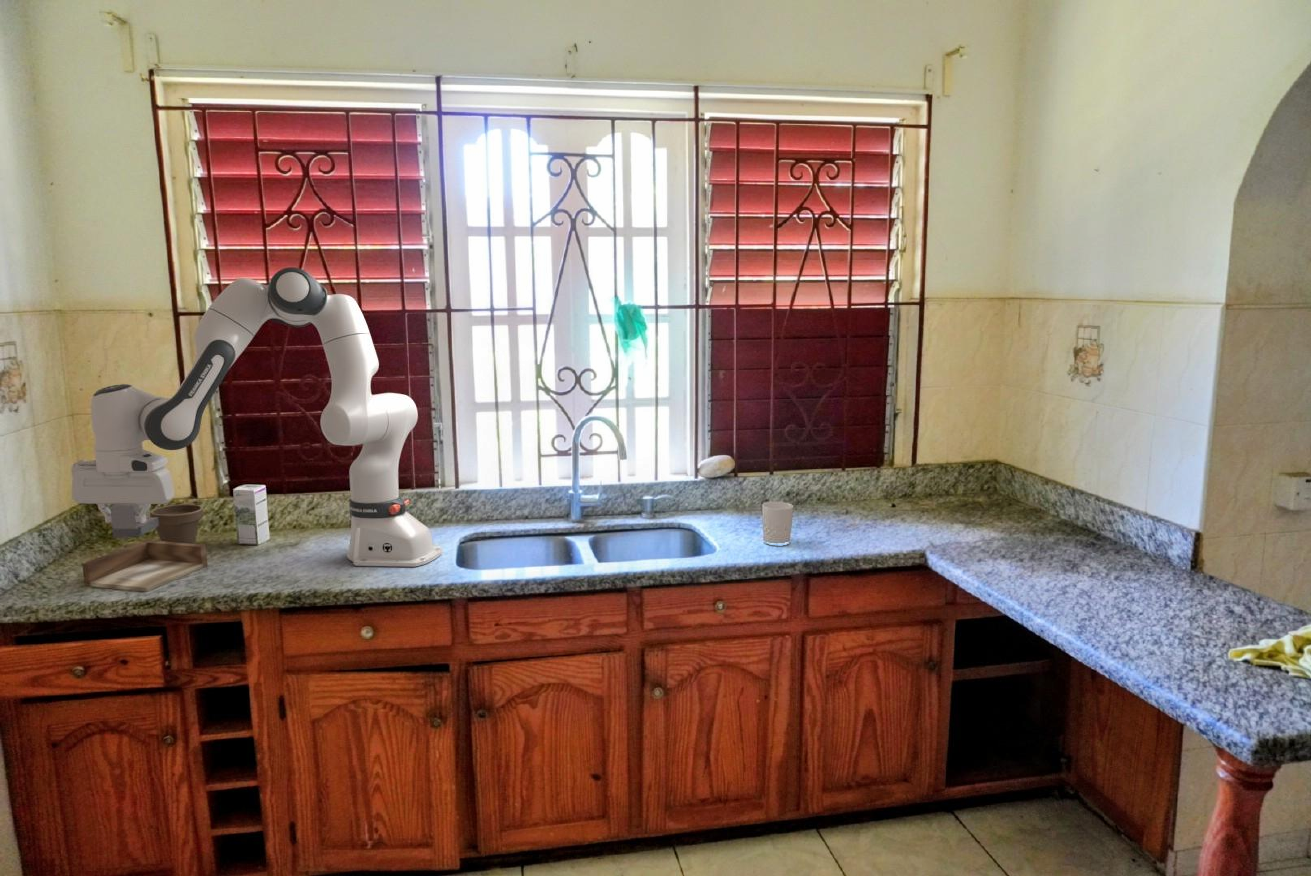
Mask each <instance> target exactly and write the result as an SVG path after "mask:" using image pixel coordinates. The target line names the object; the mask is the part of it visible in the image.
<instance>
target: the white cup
mask: <svg viewBox="0 0 1311 876" xmlns="http://www.w3.org/2000/svg"><path fill="white" fill-rule="evenodd" d="M761 507H762V509H761V511H762V516H761V517H762V518H761V519H762V533H763V534H762V537H763V538H762V541H763V540H764V541H765V542H769V543H785V542H789V541H790V542H791V534H792V528H793V527H792V526H793V515H794V513H793V512H794V505H793V504H791V503H789V502H786V501H767V502H763V503H762V505H761Z"/></svg>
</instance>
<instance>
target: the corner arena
mask: <svg viewBox="0 0 1311 876" xmlns="http://www.w3.org/2000/svg"><path fill="white" fill-rule="evenodd" d="M81 566H82V574H83V576H82V577H83V584H84V585H83V586H84V587H92V588H93V587H94V588H104V589H113V590H115V589H116V590H126V591H136V592H146V593H148V592H150V591H152V590H155V589H157V588H159V587H162V586H164V585H166V584H168V583H171V582H173V581H175V580H177V579H180V578H182V577H185V576H187V575H190V574H191V573H193V572H196V571H198V570H201V569H203V568H205V567H208V556H207V546H206V544H199V543H195V544H188V543H176V542H164V541H161V540H152V539H151V540H149V539H147V540H144V541H141V542H138V543H136V544H133V545H130V546H127V547H125V548H122V549H118V550H117V551H113V552H111V553H107V554H105V555H102V556H99V557H97V558H94V559H91V560H88V561H85V562H83V563H82V565H81Z"/></svg>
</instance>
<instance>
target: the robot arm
mask: <svg viewBox="0 0 1311 876" xmlns="http://www.w3.org/2000/svg"><path fill="white" fill-rule="evenodd" d="M268 320H269V321H271V322H275V323H277V324H282V325H285V326H288V327H294V328H303V327H306V326H309V325H311V324H312V325H314V327H315V328H316V330H317V332H318V334H319V337H320V340H321V341H320V342H321V344H322V347H323V351H324V353H325V358H326V361H327V364H328V368H329V373H330V379H331V391H330V392H331V393H330V397H329V400H328V403H327V404H326V406H325V407H324V409H323V410H322V413H321V416H320V422H319V423H320V424H319V425H320V428H321V429H320V430H321V432H322V434H323V436H324V437H325V438H326V440H327V441H328V442H329V443H330V444H333V445H336V446H352V447H353V446H358V445H359V446H360V445H362V448H361V450H360V453H359V454H358V456H357V457H356V459H354V460H353V462H352V463H351V465H350V467H349V473H348V475H349V488H350V492H349V493H350V498H349V501H348V506H349V507H348V509H349V516H350V520H351V522H350V524H351V525H350V526H351V527H350V538H349V545H348V549H347V553H346V558H347V559H348V560H350V561H351V562H352V564H353V566H358V567H411V568H412V567H413V568H414V567H420V566H423V565H425V564H428V563H431V562H432V561H434V560H436V559H438V557H440V556H441V555H442V554H443V548H442V546H440V545H435V544H434V543H433V537H432V534H431V533H432V532H431V530H430V528H429V527H427V526H426V525H425V524H423V523H422V522H421V521H419V520H418V519H417V518H416V517H414V516H413V515H411V513H409V512H408V511H407V509H406V506H408V505H409V504H410V500H409V499H407V500H403V499H402V497H401V495H400V494H399V493H400V492H399V464H400V458H401V454H402V451H403V447H404V444H405V442H406V440H407V438H408V435H409V434H410V432H411V431H412V430H413V429H414V428H415V427H416V425H417V422H418V419H419V416H418V415H419V414H418V408H417V406H416V402H415V401H414V400H413V399H412V398H411V397H410V396H409V395H406V394H401V393H397V392H396V393H395V392H384V393H378V394H372V390H371V389H372V388H371V385H372V384H371V383H372V378H373V376H375V374H376V373H377V372H378V370H379V366H380V363H379V358H378V355H377V351H376V349H375V348H376V347H375V346H374V343H373V342H374V341H373V339H372V336H371V333H370V330H369V327H368V324H367V322H366V319H365V317H364V314H363V312H362V310H361V308H360V307H359V305H358V302H357V301H356V300H355V298H353V297H352V296H351V295H348V294H344V293H336V294H335V293H333V294H328V290H327V288H325V287H324V286H323V285H322V284H321V283H320V282H319V281H318V280H317V279H316V278H315V277H314V276H313V275H312V274H310V273H309V272H308V271H306V270H305V269H302V268H300V267H296V266H295V267H294V266H292V267H291V266H290V267H284V268H281V269H280V270H277V272H275V273H274V274H273V276H272V277H271V278H270V280H269V282H268V284H262V283H261V282H258V281H257V280H254V279H252V278H249V277H248V278H247V277H240V278H236V279H235V280H233V281H232V282H230V283H229V285H227V286H226V287H224V289H223V290H222V291H221V292H220V294H219V295H217V296H216V298H215V299H214V300H213V301H212V302H211V304H210V306H208V308H207V310H206V311H205V312H204V314H203V315H202V317H201V318H200V320H199V322H198V325H197V326H196V329H195V331H194V334H193V339H194V343H195V348H196V356H195V357H196V358H195V361H194V363H193V365H192V367H191V369H190V370H189V372H188V374H187V376H186V377H185V378H184V380H183V381H182V382H181V384H180V386H179V387H178V389H177V391H176V392H175V393H174V395H173V396H172V397H171V398H168V397H164V396H161V395H160V396H159V395H155V394H151V393H149V392H145V391H143V390H141V389H138V388H136V387H134V386H133V385H132V384H128V383H127V384H125V383H121V384H115V385H110V386H106V387H102V388H100V389H98V390H96V391H95V393H94V394H93V395H92V397H91V402H90V420H91V429H92V432H93V434H94V438H95V439H94V440H95V442H94V446H93V447H94V448H93V449H94V459H95V460H91V459H90V460H81V459H79V460H77V461H76V462H74V463H73V464H72V466H71V468H70V469H71V470H70V471H71V476H72V479H71V498H72V500H73V502H74V503H76V504H96V505H97V509H98V510H99V512H100V513H101V514H102V515H103V517H104V522H105V524H112V519H111V510H110V506H111V505H114V504H139V509H141V510H139V511H140V514H138V515H136V516H135V522H136V523H145V522H146V517H147V514H148V512H149V510H150V508H151V506H152V505H165V504H167V503H170V502H171V501H172V500H173V499H174V496H175V488H174V480H173V477H172V474H171V472H170V470H169V469H168V468H166V466H168V463H169V461H168V458H167V456H164V455H161V454H157V453H154V452H152V451H148V450H146V449H144V448H143V442H144V441H151V443H152V444H153V445H155V446H156V447H158V448H160V449H162V450H167V451H178V450H181V449H185V448H187V447H188V446H190V445H191V444H193V442H194V441H195V440H196V439H197V437H198V435H199V433H200V430H201V425H202V417H203V416H204V415H203V414H204V412H205V410H206V407H207V406H208V404H209V403H210V401H211V399H212V398H213V396H214V395H215V393H216V391H217V390H218V388H219V387H220V386H221V383H222V381H223V380H224V378H225V377H226V375H227V373H228V371H229V370H230V369H231V367H232V366H233V365H234V364H235V362H236V361H237V360H238V358H239V357H240V356H241V354H242V353H243V352H244V351H245V350H246V348H247V347H248V345H249V344H250V343H251V341H252V340H253V338H254V337H255V336H256V334H257V333H258V331H259V330H260V328H261V327H262V325H263V324H264V323H266V322H268Z"/></svg>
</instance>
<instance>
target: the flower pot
mask: <svg viewBox="0 0 1311 876" xmlns="http://www.w3.org/2000/svg"><path fill="white" fill-rule="evenodd" d="M149 516H150V517H157V518H158V521H159V526H158V527H156V528H155V529H156V531H157V534H158V537H159V539H160V540H159V541H164V542H176V543H188V544H196V539H197V536H198V534H197V533H198V529H199V524H200V520H201V519H203V517H204V507H203V506H201V505H199V504H191V503H190V504H189V503H187V504H185V503H184V504H183V503H181V504H179V503H178V504H171V505H163V506H160V507H155V508H154V509H152V510H150V512H149Z"/></svg>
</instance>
